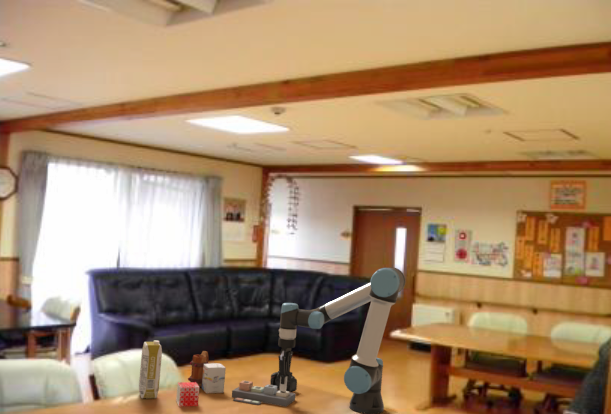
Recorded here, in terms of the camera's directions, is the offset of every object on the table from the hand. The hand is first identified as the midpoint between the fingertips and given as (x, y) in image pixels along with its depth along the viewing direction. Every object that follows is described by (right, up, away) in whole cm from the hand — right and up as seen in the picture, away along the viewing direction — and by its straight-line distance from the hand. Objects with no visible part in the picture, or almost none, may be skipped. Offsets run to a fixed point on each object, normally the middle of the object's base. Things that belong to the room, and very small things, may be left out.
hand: (282, 390), depth 269 cm
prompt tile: (-15, -3, -5) cm, 16 cm away
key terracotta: (-17, -1, +5) cm, 18 cm away
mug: (-41, -3, +18) cm, 44 cm away
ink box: (-33, -3, +9) cm, 34 cm away
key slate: (-6, -2, +2) cm, 6 cm away
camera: (-1, -6, +20) cm, 21 cm away
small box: (-40, -1, -14) cm, 42 cm away
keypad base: (-9, -4, +3) cm, 10 cm away
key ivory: (0, -4, 0) cm, 4 cm away
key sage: (-12, -3, +4) cm, 13 cm away
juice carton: (-58, 0, -8) cm, 59 cm away
